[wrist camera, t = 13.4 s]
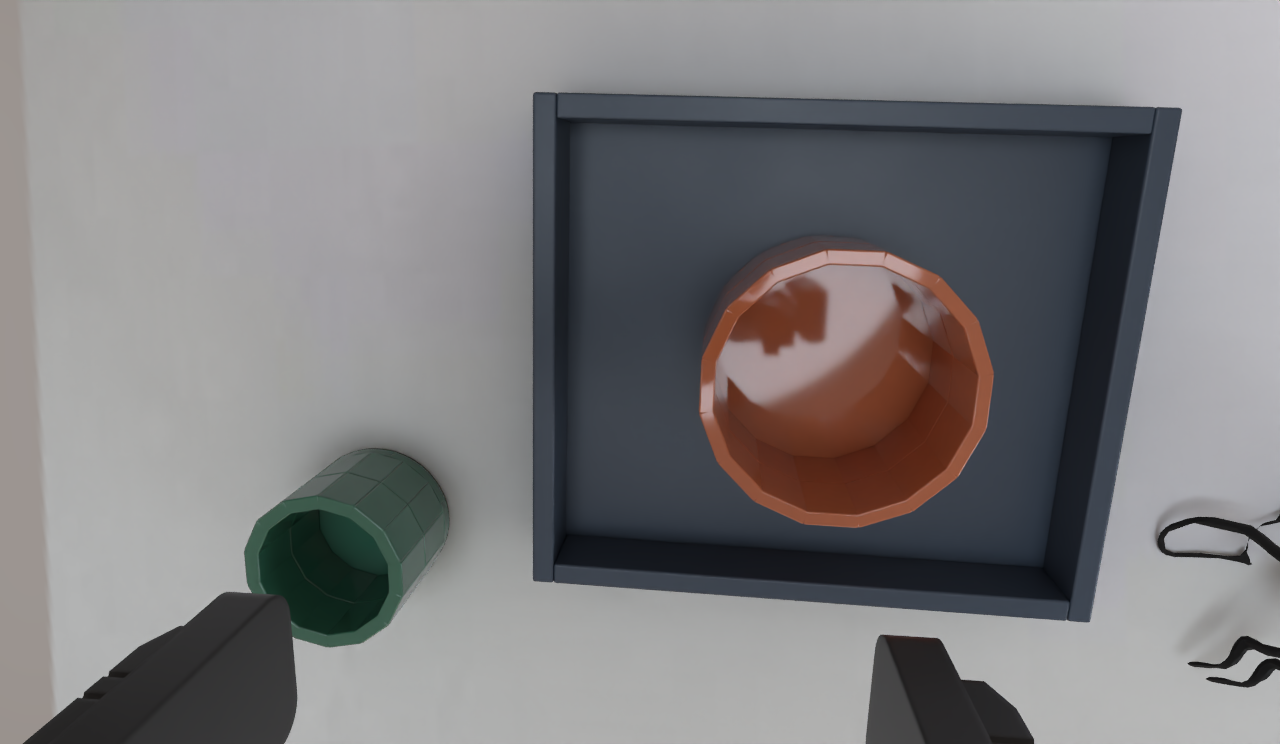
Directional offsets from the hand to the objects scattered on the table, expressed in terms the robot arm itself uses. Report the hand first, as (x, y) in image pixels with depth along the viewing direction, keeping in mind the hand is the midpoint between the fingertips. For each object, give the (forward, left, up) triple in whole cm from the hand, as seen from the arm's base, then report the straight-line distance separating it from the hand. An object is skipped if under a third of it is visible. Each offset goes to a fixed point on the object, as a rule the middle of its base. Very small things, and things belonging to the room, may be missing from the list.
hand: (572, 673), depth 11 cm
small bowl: (-8, -4, -14) cm, 17 cm away
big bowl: (+5, +2, -13) cm, 14 cm away
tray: (+5, +2, -14) cm, 15 cm away
